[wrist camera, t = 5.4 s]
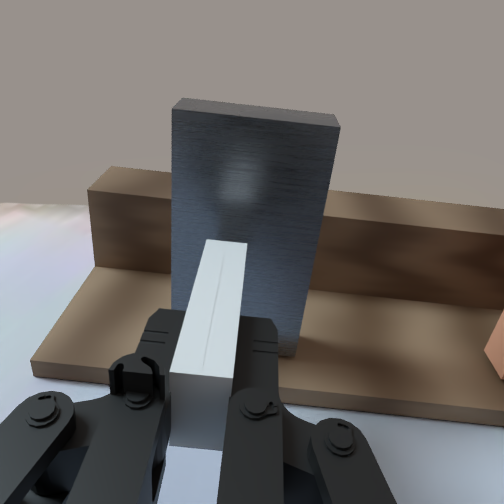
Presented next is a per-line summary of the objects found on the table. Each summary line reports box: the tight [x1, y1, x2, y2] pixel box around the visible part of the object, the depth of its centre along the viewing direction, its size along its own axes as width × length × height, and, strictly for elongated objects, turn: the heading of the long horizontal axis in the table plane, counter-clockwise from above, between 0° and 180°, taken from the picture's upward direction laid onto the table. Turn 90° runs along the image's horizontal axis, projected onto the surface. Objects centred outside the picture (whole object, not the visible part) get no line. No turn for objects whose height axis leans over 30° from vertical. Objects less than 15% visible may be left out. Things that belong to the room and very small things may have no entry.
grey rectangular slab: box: [171, 98, 340, 357], centre depth 19 cm, size 6×2×11 cm, turn 87°
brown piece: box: [30, 166, 504, 426], centre depth 24 cm, size 34×12×6 cm, turn 87°
